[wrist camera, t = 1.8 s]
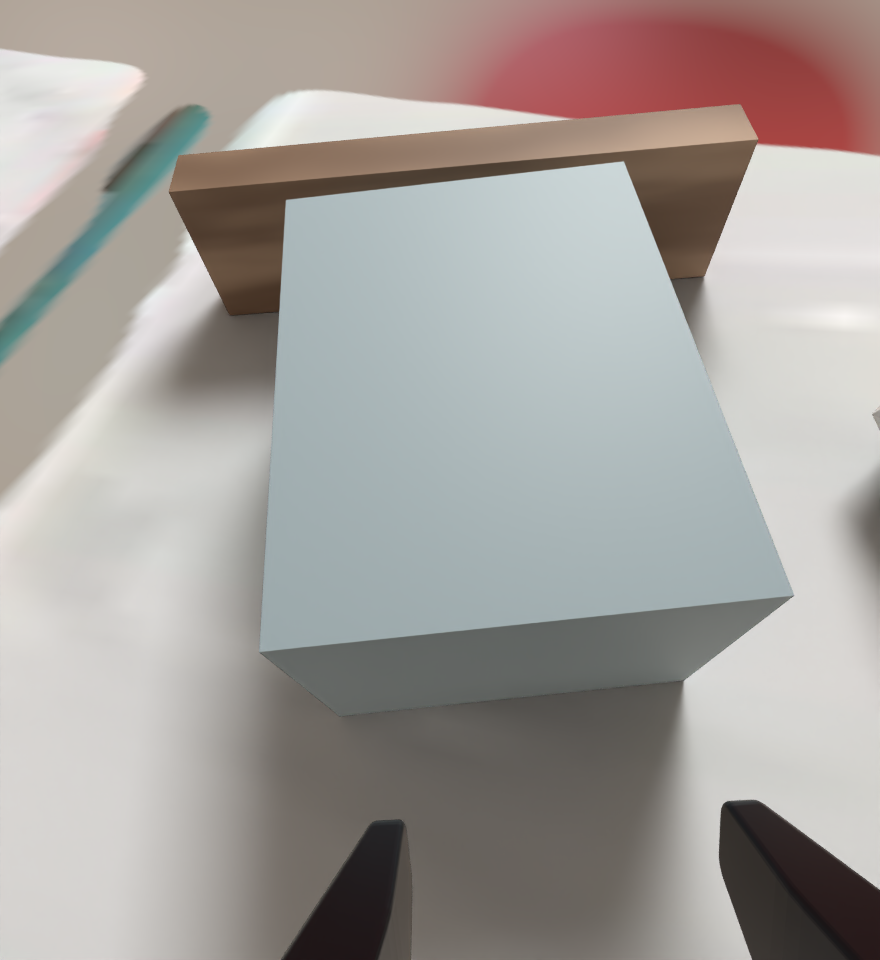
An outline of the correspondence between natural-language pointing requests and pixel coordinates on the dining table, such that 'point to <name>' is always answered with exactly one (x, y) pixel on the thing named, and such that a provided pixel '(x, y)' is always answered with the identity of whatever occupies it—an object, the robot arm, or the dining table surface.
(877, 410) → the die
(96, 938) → the dining table surface
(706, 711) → the dining table surface
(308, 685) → the slate block
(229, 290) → the walnut board
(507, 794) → the dining table surface
